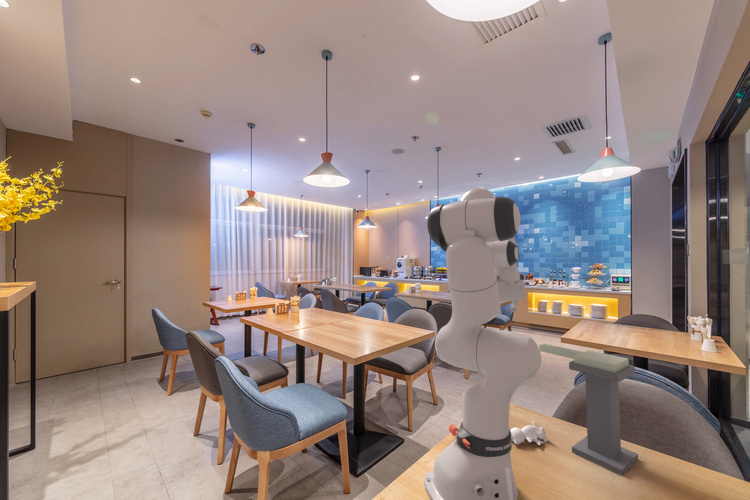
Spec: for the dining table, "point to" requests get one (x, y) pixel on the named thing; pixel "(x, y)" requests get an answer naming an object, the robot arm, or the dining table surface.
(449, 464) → the robot arm
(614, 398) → the stand
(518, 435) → the toy figure
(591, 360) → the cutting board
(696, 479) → the dining table surface
